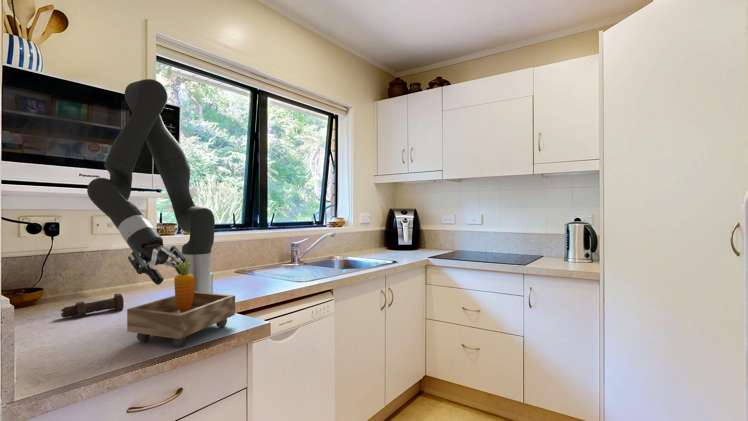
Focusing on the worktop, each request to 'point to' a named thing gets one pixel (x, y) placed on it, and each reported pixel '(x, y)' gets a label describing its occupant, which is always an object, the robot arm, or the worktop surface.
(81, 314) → the bolt
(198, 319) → the caster cart
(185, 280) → the carrot
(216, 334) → the worktop surface
